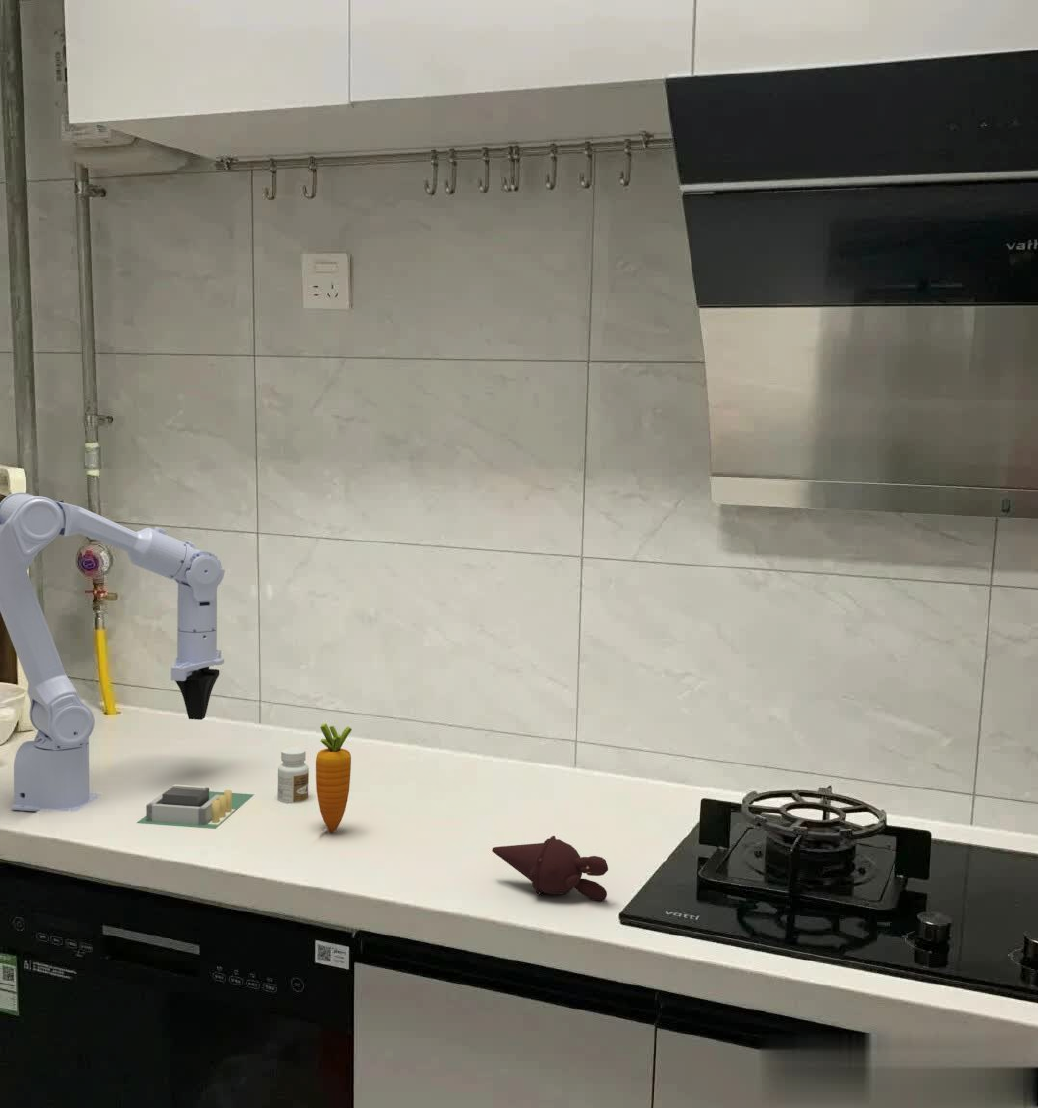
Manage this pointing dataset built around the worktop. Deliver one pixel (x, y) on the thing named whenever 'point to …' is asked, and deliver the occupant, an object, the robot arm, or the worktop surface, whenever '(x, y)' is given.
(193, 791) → the plug block
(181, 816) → the header board
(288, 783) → the pill bottle
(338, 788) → the carrot
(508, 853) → the icecream
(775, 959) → the worktop surface
